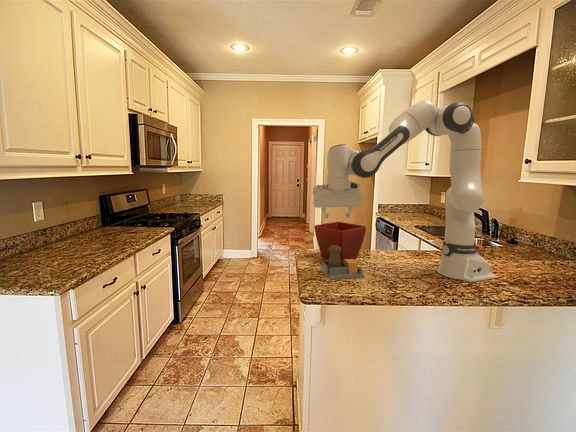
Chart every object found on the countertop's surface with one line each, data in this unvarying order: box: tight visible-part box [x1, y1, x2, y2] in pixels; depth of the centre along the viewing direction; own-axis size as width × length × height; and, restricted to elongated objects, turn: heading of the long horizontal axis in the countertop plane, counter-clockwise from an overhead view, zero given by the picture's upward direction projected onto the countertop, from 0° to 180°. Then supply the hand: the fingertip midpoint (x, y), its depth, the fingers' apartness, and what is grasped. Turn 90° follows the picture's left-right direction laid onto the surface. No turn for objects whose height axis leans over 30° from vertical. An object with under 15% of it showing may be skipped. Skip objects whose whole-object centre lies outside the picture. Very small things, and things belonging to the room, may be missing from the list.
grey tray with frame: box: [320, 260, 365, 281], centre depth 129 cm, size 15×13×4 cm
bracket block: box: [344, 259, 359, 272], centre depth 129 cm, size 4×6×4 cm, turn 9°
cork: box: [328, 245, 341, 267], centre depth 128 cm, size 6×6×11 cm
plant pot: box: [314, 221, 367, 262], centre depth 151 cm, size 19×19×17 cm
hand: (337, 217), depth 125 cm, fingers open, 8 cm apart
